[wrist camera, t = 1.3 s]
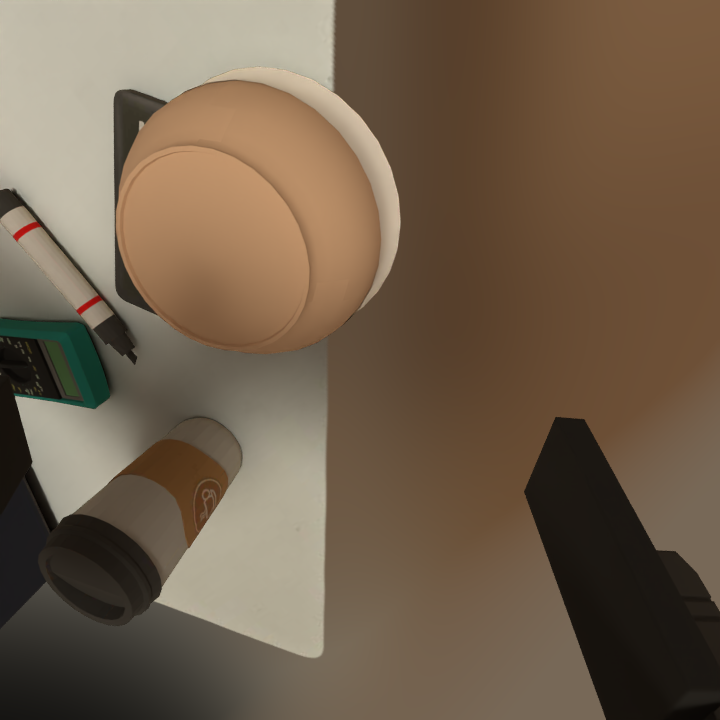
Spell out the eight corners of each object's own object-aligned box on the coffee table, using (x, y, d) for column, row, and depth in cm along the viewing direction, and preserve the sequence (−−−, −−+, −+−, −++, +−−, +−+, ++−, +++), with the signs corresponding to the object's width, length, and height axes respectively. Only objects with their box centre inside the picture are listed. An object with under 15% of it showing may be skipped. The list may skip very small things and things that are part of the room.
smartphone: (230, 125, 34) (223, 127, 33) (208, 331, 42) (202, 336, 42) (120, 83, 35) (111, 85, 34) (121, 293, 43) (114, 297, 43)
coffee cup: (259, 493, 50) (150, 646, 38) (177, 469, 52) (51, 607, 40) (251, 417, 46) (125, 563, 34) (162, 395, 48) (15, 524, 36)
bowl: (425, 323, 27) (452, 263, 33) (216, -6, 22) (294, -3, 29) (205, 425, 35) (261, 360, 42) (18, 199, 30) (113, 165, 37)
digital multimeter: (-37, 310, 52) (-68, 324, 49) (89, 319, 46) (62, 336, 44) (-3, 379, 55) (-30, 396, 53) (118, 395, 50) (94, 414, 48)
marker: (3, 200, 43) (-20, 207, 41) (14, 185, 42) (-9, 192, 40) (139, 360, 46) (122, 373, 45) (152, 351, 45) (136, 364, 44)
